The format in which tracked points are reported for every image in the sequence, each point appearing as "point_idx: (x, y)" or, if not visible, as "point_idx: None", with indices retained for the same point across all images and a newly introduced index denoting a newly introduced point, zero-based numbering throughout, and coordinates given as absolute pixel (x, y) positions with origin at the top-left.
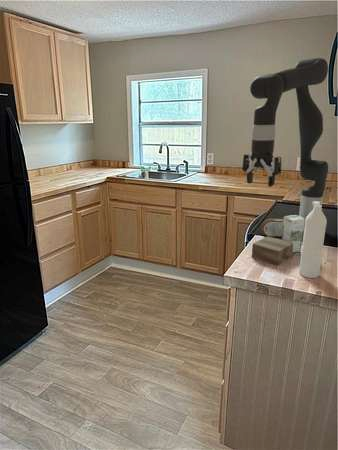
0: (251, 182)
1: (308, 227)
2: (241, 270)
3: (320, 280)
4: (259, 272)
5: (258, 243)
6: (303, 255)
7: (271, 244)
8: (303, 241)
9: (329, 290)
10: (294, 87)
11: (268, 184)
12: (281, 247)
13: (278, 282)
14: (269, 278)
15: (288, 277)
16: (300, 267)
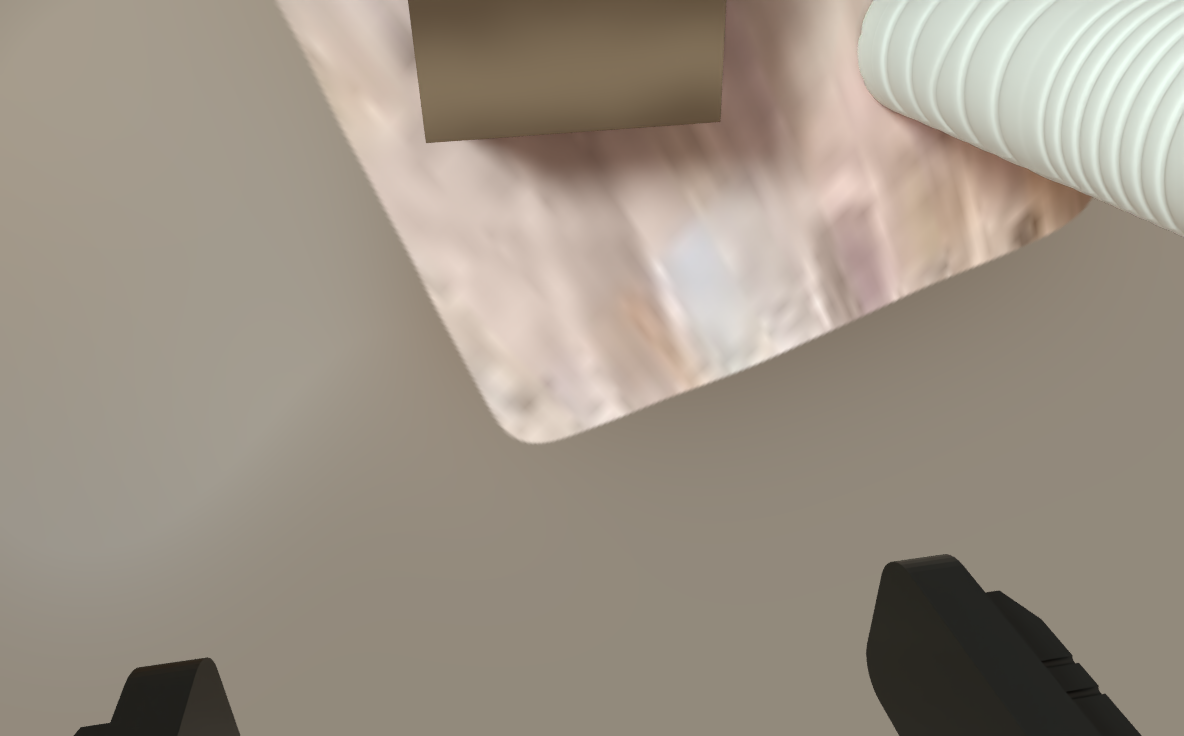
0: (214, 696)
1: None
2: (535, 358)
3: None
4: (641, 289)
5: (464, 93)
6: (979, 148)
7: (576, 8)
8: (1041, 167)
9: None
10: None
11: (901, 720)
12: (694, 2)
13: (800, 306)
14: (734, 307)
15: (824, 200)
16: (895, 100)
